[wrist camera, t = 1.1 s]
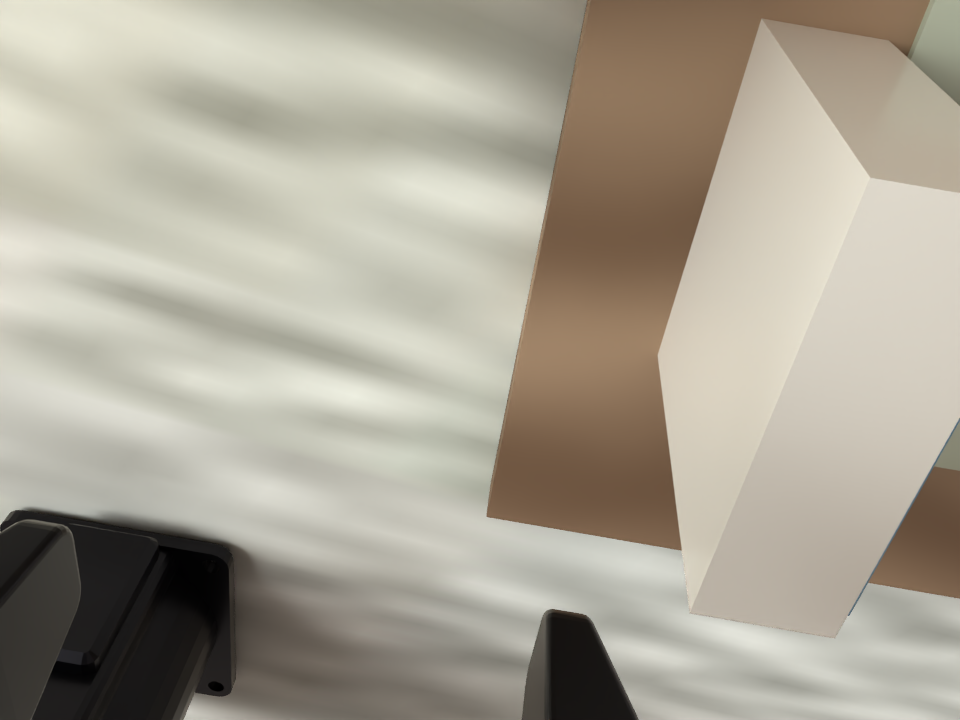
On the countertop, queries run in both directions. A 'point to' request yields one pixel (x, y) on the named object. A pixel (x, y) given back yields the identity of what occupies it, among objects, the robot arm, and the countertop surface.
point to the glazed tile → (814, 329)
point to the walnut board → (665, 267)
